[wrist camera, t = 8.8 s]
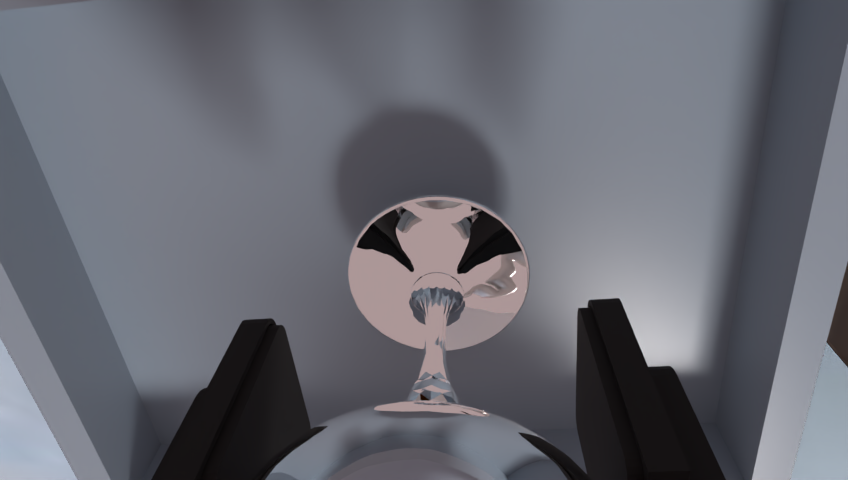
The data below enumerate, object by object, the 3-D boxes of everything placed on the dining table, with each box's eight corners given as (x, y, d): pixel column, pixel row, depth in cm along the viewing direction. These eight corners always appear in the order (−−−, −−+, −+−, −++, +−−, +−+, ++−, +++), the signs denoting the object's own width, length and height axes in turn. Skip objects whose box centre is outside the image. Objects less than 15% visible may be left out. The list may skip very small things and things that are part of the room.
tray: (731, 421, 20) (781, 513, 17) (154, 443, 22) (105, 531, 19) (837, -150, 13) (960, -167, 9) (-58, -41, 14) (-198, -27, 11)
